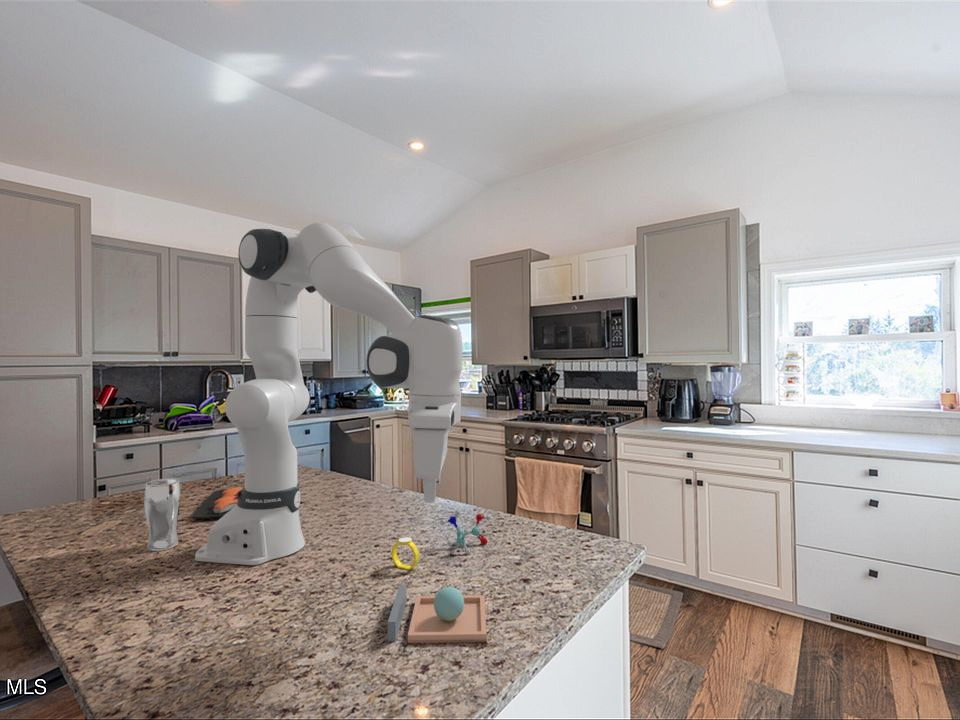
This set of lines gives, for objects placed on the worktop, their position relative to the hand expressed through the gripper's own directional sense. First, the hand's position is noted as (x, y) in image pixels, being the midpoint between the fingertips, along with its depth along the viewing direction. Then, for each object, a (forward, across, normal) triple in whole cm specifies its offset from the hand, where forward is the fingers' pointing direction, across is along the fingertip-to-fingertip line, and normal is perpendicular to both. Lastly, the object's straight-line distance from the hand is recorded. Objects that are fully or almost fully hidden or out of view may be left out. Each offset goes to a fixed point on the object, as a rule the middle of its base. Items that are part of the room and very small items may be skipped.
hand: (432, 492), depth 80 cm
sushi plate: (+24, -65, -58) cm, 90 cm away
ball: (+20, +2, +4) cm, 20 cm away
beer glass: (+23, -31, -65) cm, 75 cm away
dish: (+20, +2, +4) cm, 21 cm away
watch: (+21, -18, -7) cm, 29 cm away
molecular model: (+21, -29, +5) cm, 36 cm away
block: (+21, +2, -5) cm, 21 cm away
